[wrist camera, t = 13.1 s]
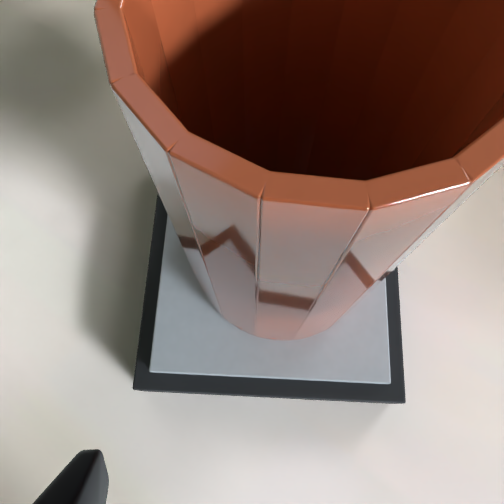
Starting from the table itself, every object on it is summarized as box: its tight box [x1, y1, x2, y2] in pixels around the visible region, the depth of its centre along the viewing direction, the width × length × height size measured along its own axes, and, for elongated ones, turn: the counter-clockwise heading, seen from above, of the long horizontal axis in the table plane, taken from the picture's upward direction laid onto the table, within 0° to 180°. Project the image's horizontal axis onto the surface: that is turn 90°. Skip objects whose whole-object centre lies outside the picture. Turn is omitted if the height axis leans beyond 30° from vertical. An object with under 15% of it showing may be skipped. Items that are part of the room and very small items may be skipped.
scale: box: [133, 193, 406, 404], centre depth 21 cm, size 12×11×2 cm
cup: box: [94, 0, 504, 341], centre depth 13 cm, size 7×7×13 cm
